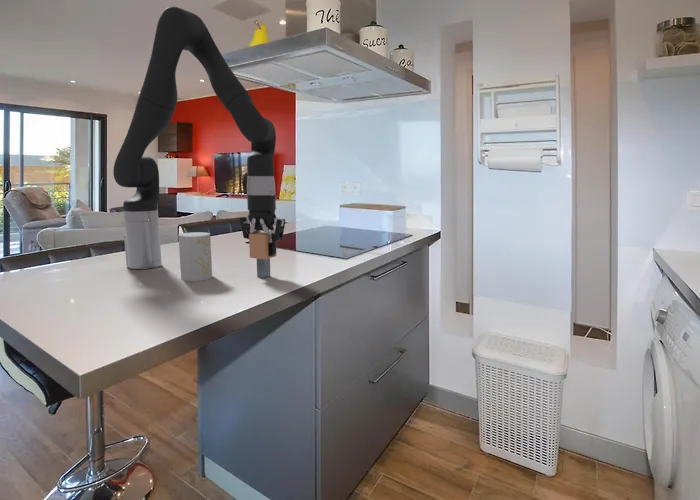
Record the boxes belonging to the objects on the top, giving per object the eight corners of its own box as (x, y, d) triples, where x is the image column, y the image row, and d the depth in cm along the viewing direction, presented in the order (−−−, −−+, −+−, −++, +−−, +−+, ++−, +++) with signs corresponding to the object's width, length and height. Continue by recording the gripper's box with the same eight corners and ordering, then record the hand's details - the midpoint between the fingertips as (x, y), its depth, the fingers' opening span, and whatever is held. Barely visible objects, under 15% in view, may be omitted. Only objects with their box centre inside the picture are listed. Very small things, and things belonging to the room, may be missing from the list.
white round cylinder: (202, 281, 112) (199, 237, 110) (174, 279, 114) (171, 235, 112) (217, 274, 120) (215, 232, 118) (191, 273, 122) (189, 231, 120)
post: (257, 277, 118) (256, 252, 116) (262, 275, 120) (262, 250, 119) (264, 278, 117) (264, 253, 115) (270, 276, 119) (269, 251, 118)
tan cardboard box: (249, 257, 116) (248, 233, 115) (261, 254, 121) (260, 231, 120) (265, 259, 114) (264, 235, 113) (276, 256, 118) (275, 232, 117)
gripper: (231, 193, 114) (233, 255, 117) (275, 194, 108) (276, 259, 111) (249, 192, 121) (251, 250, 124) (291, 193, 114) (292, 254, 117)
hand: (263, 254), depth 117 cm, fingers closed on tan cardboard box, 5 cm apart
